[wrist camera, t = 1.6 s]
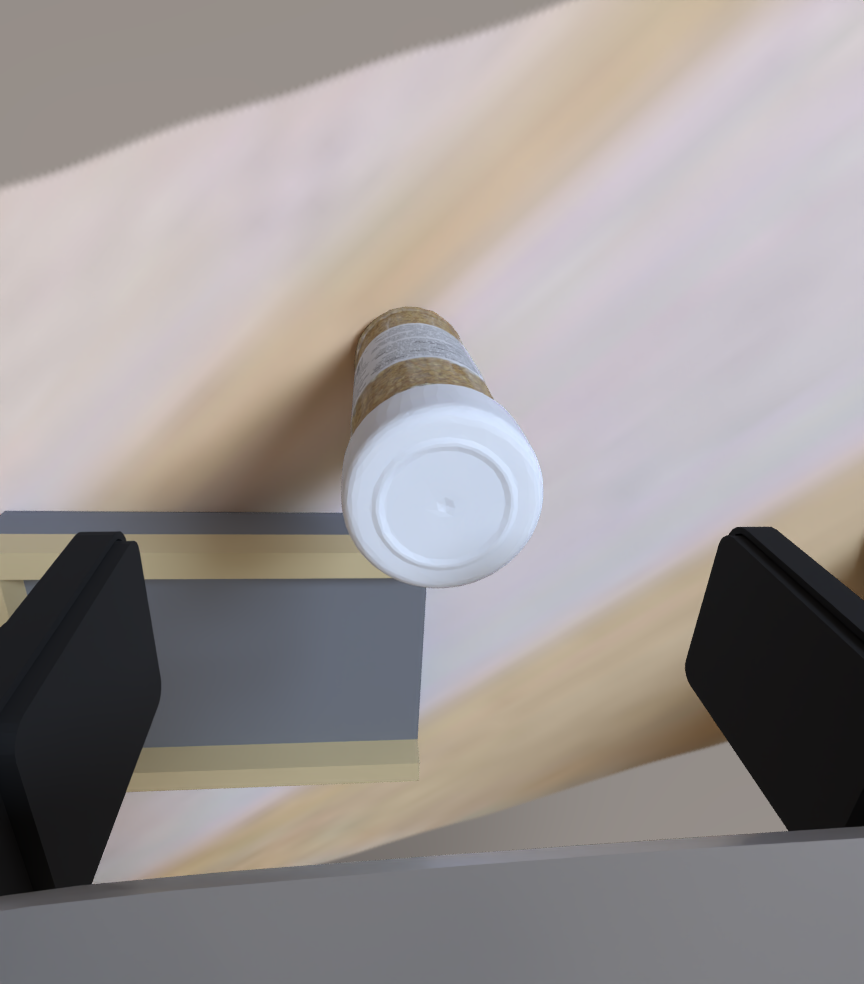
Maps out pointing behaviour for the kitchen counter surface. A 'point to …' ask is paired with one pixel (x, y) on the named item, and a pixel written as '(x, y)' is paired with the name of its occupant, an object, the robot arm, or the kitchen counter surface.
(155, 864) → the kitchen counter surface
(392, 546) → the sprinkles bottle
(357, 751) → the tray
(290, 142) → the kitchen counter surface
